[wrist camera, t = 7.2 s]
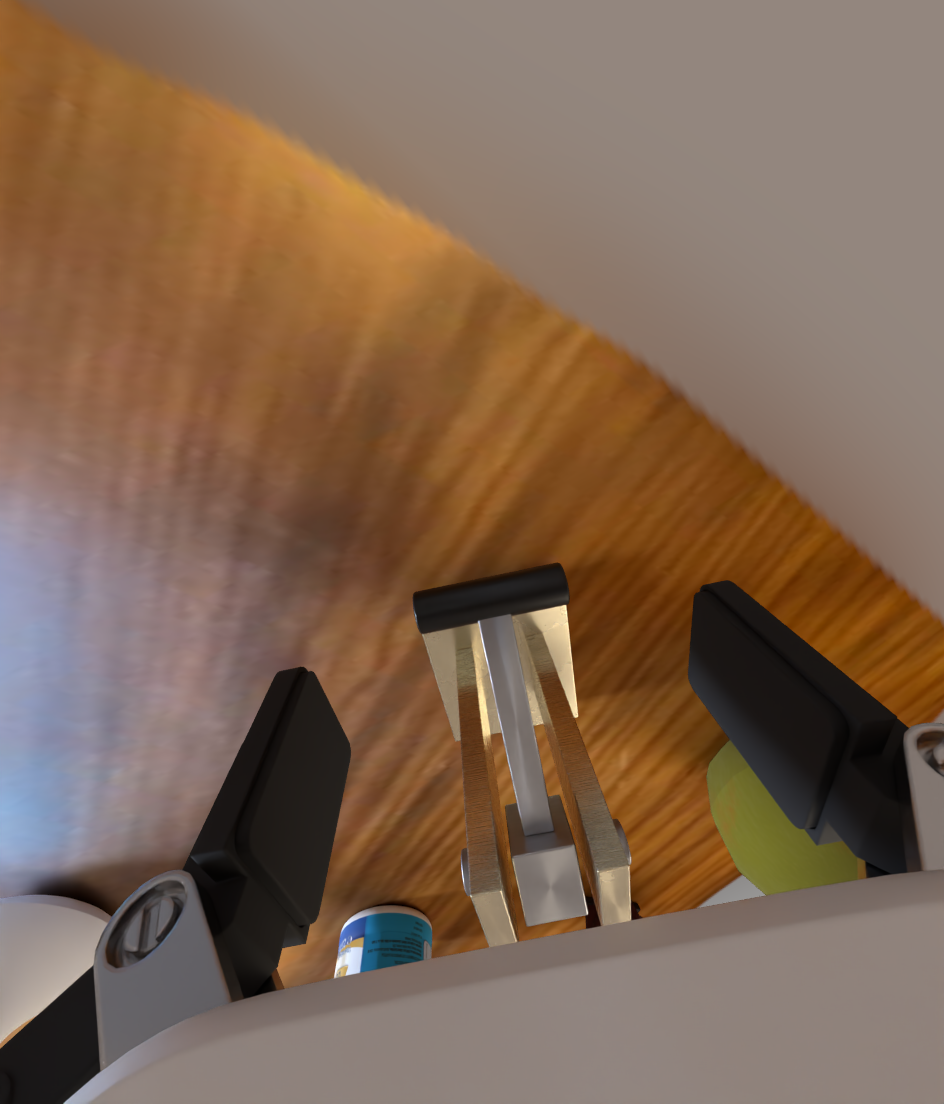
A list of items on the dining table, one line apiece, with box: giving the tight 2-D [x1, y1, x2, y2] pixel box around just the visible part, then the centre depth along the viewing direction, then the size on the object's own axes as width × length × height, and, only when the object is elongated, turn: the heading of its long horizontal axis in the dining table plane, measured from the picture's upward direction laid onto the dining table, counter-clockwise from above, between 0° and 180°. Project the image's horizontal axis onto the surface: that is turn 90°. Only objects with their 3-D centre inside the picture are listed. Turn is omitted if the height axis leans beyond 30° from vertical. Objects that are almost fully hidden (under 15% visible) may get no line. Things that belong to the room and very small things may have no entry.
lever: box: [413, 563, 588, 926], centre depth 15 cm, size 12×5×2 cm, turn 11°
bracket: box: [422, 605, 631, 947], centre depth 19 cm, size 10×8×13 cm
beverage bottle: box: [334, 905, 432, 978], centre depth 29 cm, size 8×8×20 cm
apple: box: [706, 740, 858, 896], centre depth 26 cm, size 10×10×11 cm
